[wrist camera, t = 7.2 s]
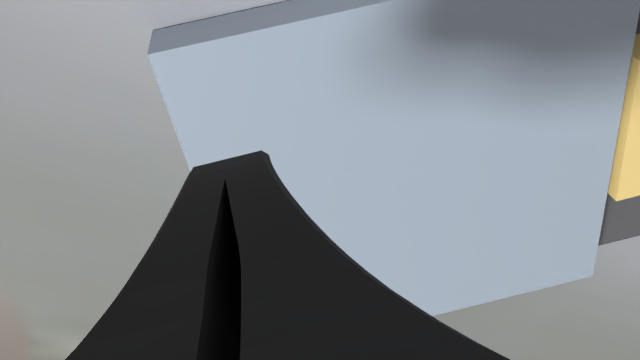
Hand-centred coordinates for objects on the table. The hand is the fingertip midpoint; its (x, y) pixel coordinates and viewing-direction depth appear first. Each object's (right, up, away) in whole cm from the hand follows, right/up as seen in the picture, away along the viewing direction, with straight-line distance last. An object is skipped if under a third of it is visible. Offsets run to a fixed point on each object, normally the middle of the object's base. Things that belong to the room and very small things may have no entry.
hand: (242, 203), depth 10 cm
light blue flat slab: (+5, +1, +12) cm, 13 cm away
